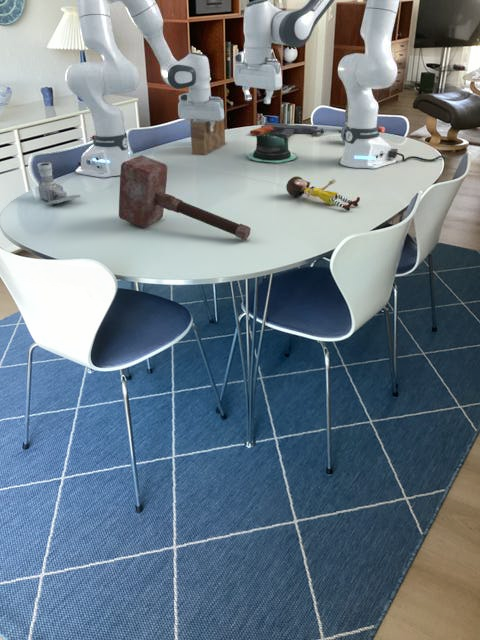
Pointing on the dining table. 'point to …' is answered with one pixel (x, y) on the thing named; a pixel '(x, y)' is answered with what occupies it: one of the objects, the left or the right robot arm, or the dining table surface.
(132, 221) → the sledgehammer
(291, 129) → the submachine gun
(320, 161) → the dining table surface
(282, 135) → the green dome on base
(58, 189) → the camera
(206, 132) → the box
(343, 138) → the toy
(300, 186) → the figurine
